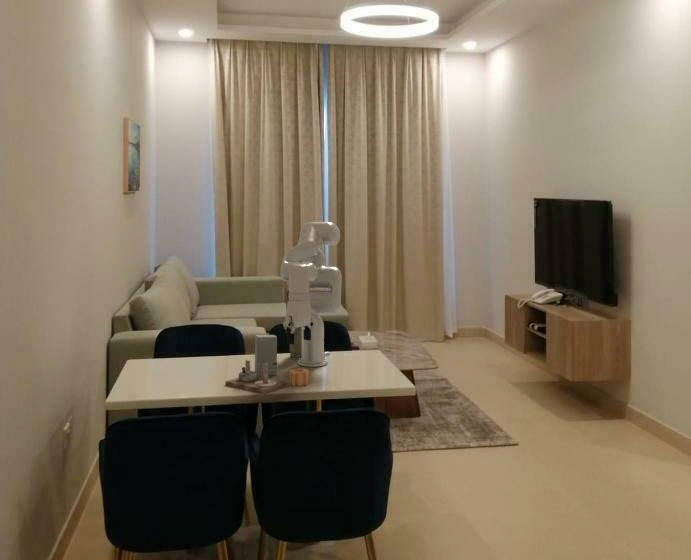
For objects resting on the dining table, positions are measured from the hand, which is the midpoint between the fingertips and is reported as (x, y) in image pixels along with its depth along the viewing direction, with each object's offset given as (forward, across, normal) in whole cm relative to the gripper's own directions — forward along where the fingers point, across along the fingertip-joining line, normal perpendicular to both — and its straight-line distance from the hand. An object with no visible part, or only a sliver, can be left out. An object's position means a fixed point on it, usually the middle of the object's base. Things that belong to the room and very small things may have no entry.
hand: (299, 341), depth 261 cm
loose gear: (+16, -1, 0) cm, 16 cm away
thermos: (+16, -36, -29) cm, 49 cm away
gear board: (+16, +11, -11) cm, 23 cm away
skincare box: (+16, -4, -20) cm, 26 cm away
